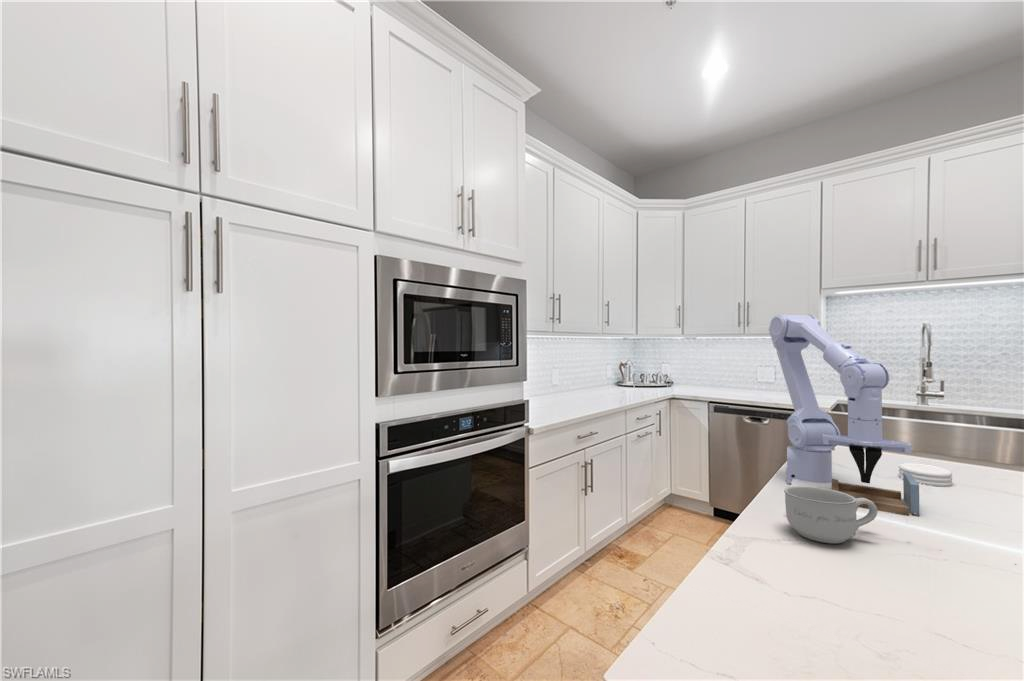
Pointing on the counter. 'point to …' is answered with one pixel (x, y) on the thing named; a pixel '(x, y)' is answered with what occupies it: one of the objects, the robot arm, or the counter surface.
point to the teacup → (825, 513)
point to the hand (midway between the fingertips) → (865, 481)
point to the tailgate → (911, 493)
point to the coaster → (927, 474)
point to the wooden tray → (874, 497)
